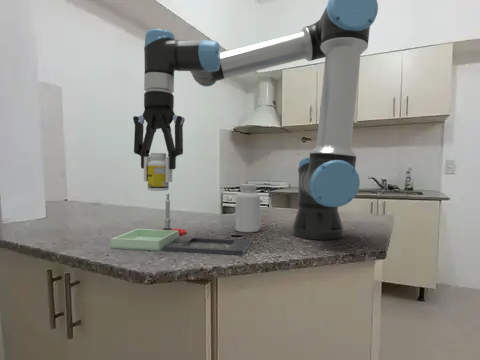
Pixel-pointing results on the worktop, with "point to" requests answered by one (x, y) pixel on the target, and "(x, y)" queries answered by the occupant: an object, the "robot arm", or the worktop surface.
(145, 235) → the tray
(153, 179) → the supplement bottle
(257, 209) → the pill bottle
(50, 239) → the worktop surface
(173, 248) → the dark grey slotted board
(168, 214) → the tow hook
